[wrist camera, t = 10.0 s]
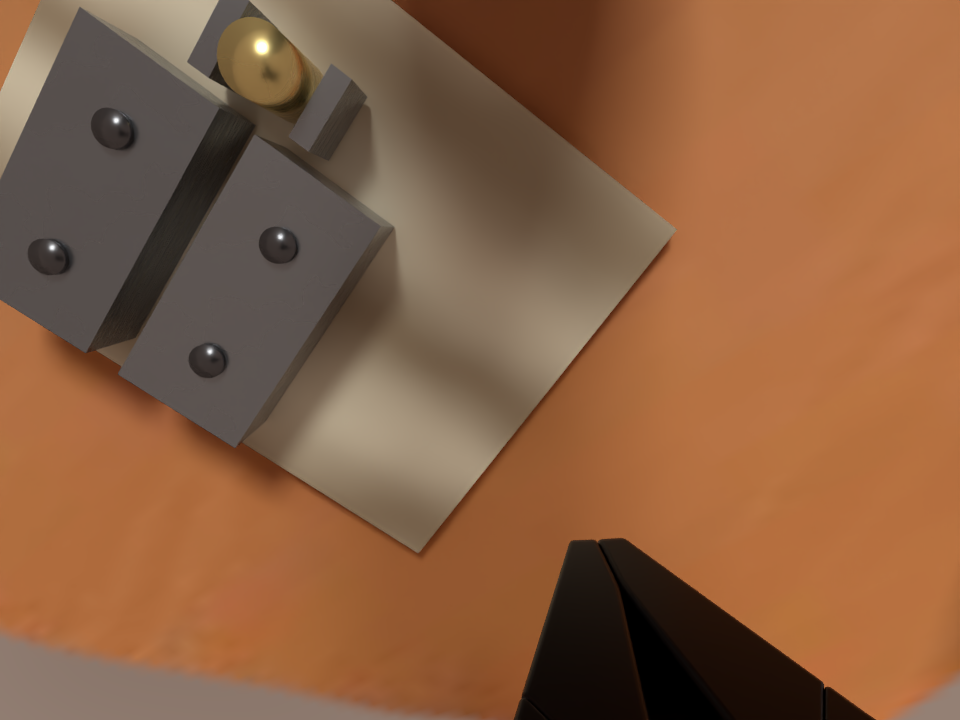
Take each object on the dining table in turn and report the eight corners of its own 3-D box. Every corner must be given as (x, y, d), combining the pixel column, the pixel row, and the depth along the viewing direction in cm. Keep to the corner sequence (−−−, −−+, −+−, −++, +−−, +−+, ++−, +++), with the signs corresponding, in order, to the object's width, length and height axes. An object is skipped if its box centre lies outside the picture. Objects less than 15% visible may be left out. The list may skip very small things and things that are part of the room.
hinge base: (342, 78, 17) (309, 42, 13) (173, 362, 19) (112, 388, 16) (179, -47, 16) (104, -115, 13) (24, 267, 18) (-71, 274, 15)
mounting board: (146, -191, 15) (132, -208, 15) (671, 229, 18) (677, 229, 18) (-51, 246, 19) (-69, 246, 18) (419, 544, 21) (418, 553, 21)
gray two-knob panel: (442, 155, 17) (435, 142, 15) (265, 422, 19) (232, 450, 17) (331, 70, 16) (303, 40, 14) (162, 356, 19) (113, 375, 16)
